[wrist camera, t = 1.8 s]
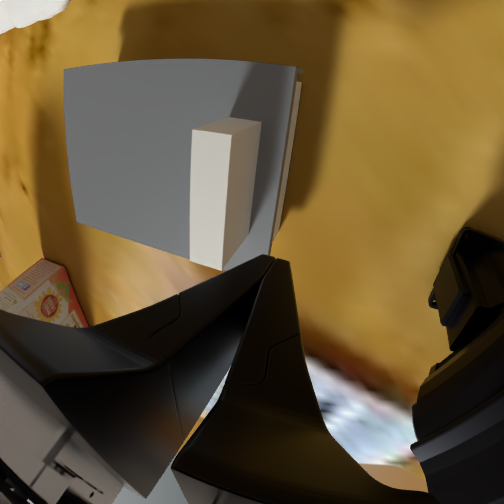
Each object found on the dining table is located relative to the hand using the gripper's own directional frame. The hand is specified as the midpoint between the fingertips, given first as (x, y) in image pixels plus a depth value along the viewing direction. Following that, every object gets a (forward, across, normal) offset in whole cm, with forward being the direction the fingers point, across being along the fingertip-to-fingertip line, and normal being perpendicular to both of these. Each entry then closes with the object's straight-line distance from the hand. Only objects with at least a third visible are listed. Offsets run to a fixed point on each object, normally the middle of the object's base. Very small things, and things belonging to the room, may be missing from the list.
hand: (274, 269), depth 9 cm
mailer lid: (+8, +9, 0) cm, 12 cm away
